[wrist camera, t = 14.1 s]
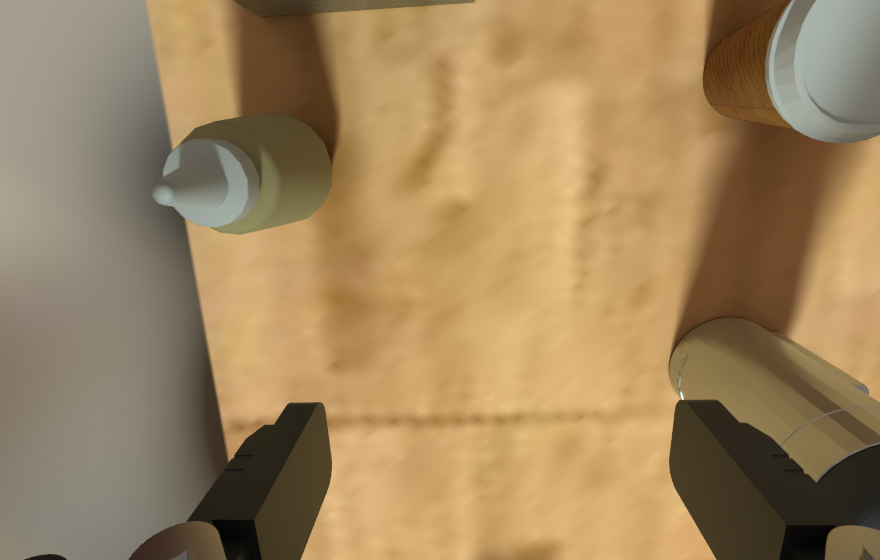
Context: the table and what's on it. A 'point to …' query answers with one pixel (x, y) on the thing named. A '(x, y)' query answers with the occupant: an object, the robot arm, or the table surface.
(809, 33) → the disposable coffee cup
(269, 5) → the block
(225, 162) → the squeeze bottle
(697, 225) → the table surface
